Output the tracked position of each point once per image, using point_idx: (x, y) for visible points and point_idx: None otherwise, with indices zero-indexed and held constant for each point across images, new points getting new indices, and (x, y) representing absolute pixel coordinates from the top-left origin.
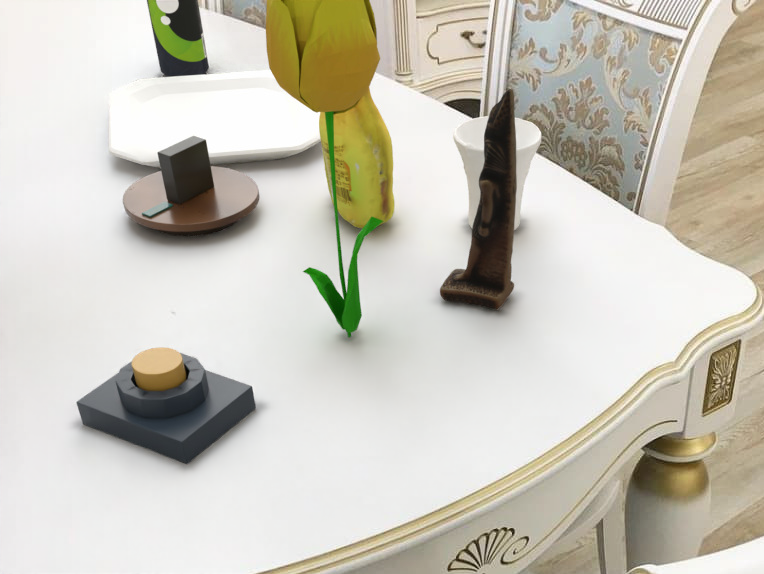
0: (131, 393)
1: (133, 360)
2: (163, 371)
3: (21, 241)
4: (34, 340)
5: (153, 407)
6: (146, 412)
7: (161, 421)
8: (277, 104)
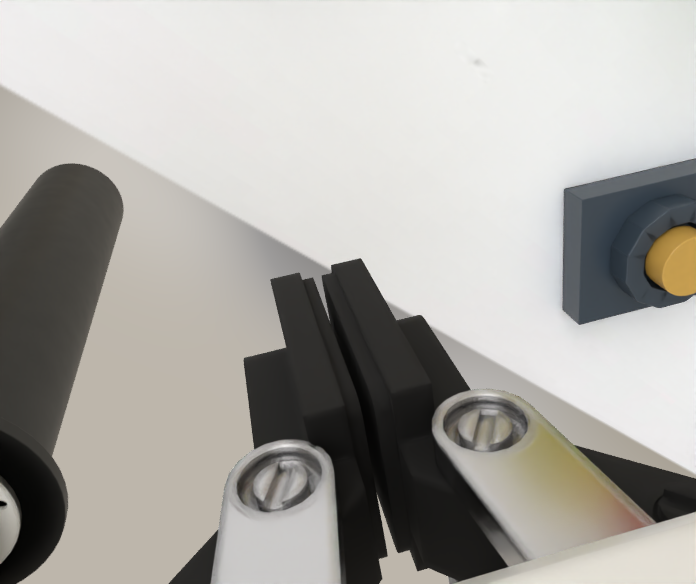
0: (669, 302)
1: (667, 286)
2: None
3: (39, 82)
4: (369, 254)
5: None
6: None
7: None
8: None
